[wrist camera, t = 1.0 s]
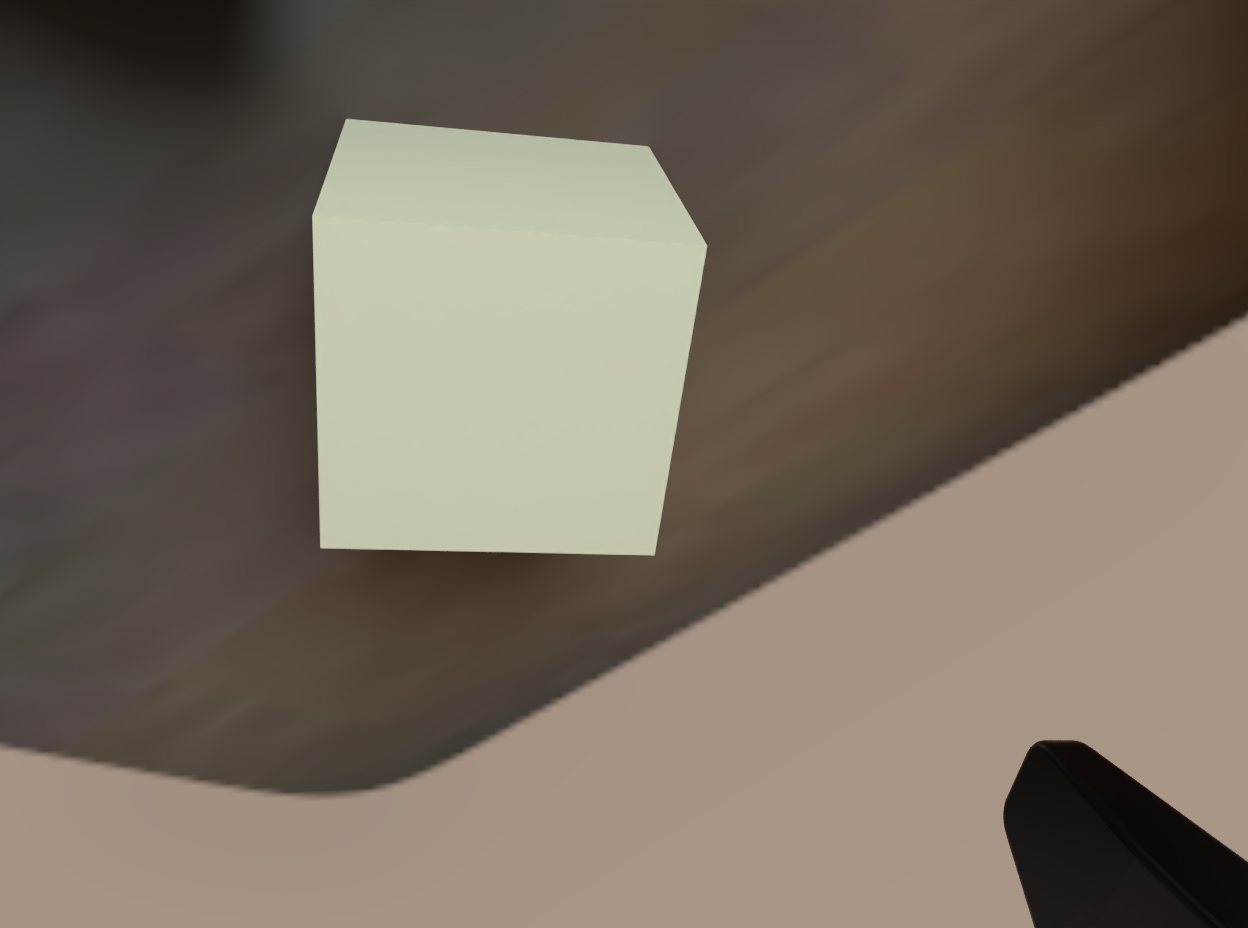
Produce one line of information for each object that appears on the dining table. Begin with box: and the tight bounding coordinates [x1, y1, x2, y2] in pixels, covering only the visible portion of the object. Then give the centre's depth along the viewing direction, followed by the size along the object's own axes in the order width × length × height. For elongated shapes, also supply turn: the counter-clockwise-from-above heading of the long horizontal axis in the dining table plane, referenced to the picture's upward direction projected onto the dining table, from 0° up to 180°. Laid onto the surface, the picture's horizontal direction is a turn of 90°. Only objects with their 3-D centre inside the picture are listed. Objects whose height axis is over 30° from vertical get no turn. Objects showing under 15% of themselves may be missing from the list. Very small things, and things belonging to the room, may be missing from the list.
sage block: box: [312, 119, 707, 555], centre depth 17 cm, size 5×5×5 cm
